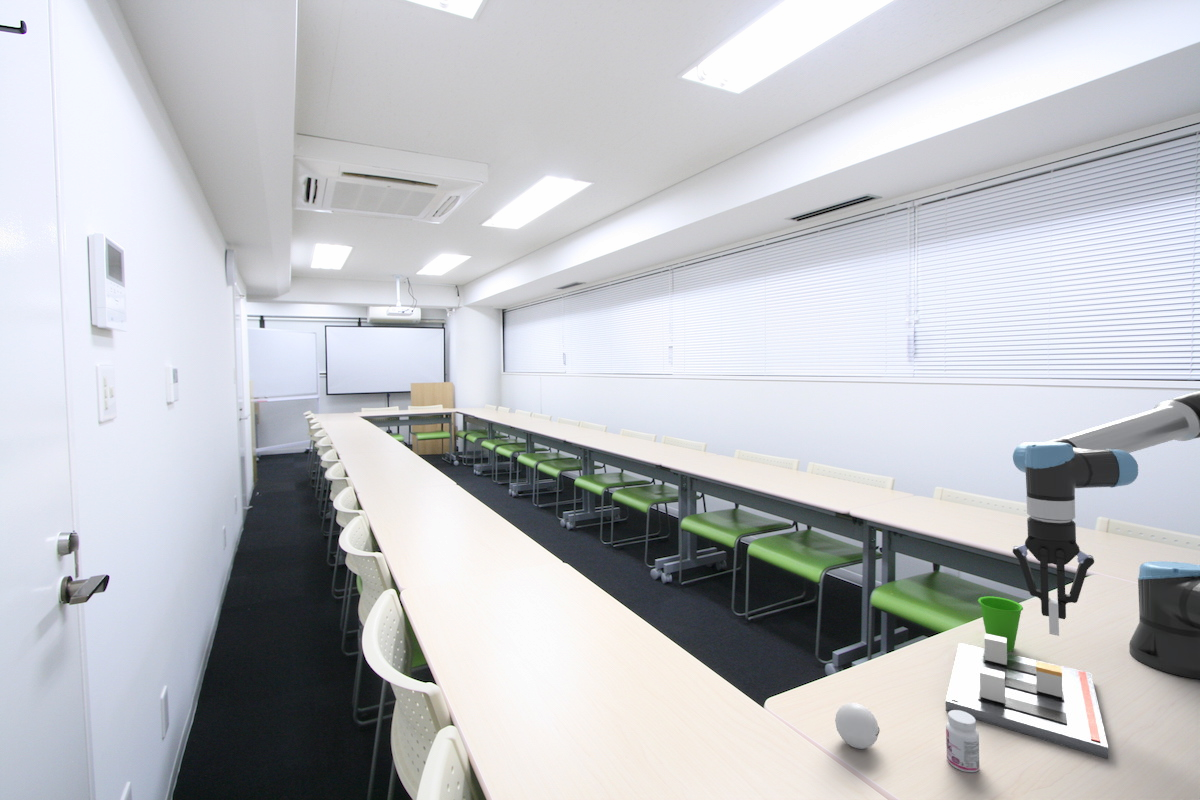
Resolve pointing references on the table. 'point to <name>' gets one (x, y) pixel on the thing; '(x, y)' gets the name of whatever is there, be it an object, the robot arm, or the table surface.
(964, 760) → the pill bottle
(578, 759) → the table surface
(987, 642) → the block
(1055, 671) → the block
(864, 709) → the white oval ovoid
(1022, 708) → the panel
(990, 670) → the block
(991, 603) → the cup
